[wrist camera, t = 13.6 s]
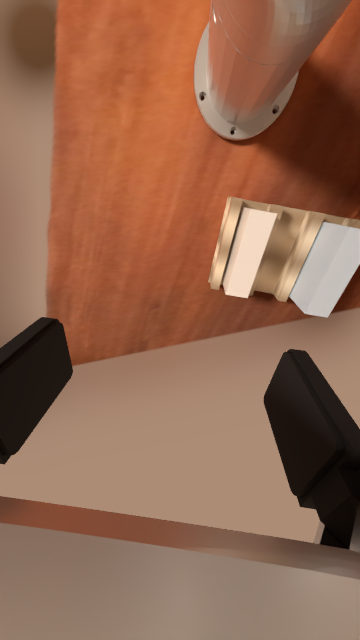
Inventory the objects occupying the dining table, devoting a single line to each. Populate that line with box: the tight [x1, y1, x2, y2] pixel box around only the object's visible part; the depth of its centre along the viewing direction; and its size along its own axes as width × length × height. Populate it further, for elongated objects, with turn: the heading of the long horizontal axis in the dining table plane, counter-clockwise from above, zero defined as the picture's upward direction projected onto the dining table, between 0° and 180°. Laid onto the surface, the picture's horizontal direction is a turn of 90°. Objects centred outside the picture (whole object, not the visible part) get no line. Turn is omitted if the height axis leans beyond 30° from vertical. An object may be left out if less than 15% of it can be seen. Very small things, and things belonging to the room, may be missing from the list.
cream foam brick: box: [222, 207, 277, 298], centre depth 33 cm, size 12×4×7 cm, turn 171°
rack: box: [208, 197, 360, 302], centre depth 35 cm, size 14×20×4 cm
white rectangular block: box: [289, 222, 360, 317], centre depth 32 cm, size 12×4×9 cm, turn 171°
